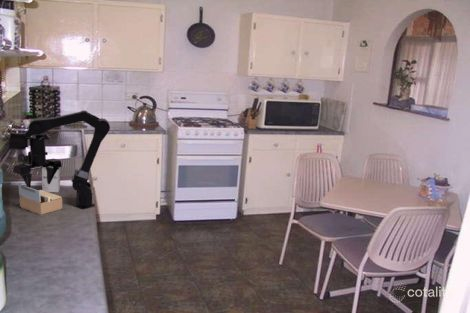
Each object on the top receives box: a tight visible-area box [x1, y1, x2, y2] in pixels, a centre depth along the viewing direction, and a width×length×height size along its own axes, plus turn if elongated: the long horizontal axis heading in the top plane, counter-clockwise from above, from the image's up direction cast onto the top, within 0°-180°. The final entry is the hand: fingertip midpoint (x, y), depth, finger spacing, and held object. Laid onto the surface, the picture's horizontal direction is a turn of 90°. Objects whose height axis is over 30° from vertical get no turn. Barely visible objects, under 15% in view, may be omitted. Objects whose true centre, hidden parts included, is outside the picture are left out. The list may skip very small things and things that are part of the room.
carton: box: [19, 189, 63, 215], centre depth 183 cm, size 14×10×7 cm
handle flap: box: [17, 183, 41, 202], centre depth 178 cm, size 14×5×1 cm
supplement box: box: [41, 167, 61, 193], centre depth 207 cm, size 7×7×13 cm
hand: (38, 186), depth 183 cm, fingers open, 9 cm apart
